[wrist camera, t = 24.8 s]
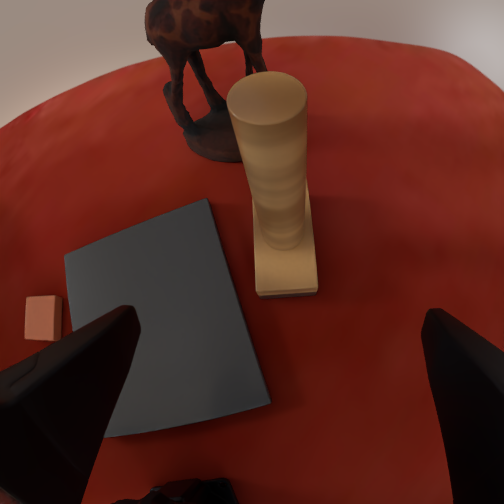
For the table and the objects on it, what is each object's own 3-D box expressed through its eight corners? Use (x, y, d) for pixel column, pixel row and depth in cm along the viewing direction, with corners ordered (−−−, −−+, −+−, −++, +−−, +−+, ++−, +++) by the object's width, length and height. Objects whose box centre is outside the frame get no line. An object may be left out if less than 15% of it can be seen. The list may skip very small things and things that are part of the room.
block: (61, 342, 24) (53, 340, 23) (32, 340, 24) (24, 339, 23) (63, 297, 25) (55, 294, 24) (34, 299, 26) (26, 296, 25)
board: (272, 401, 21) (271, 403, 20) (104, 436, 21) (98, 438, 20) (209, 203, 26) (207, 197, 25) (70, 258, 27) (64, 255, 26)
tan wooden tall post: (315, 295, 23) (345, 189, 9) (259, 299, 23) (204, 200, 9) (306, 195, 25) (307, 32, 11) (256, 199, 26) (214, 42, 12)
